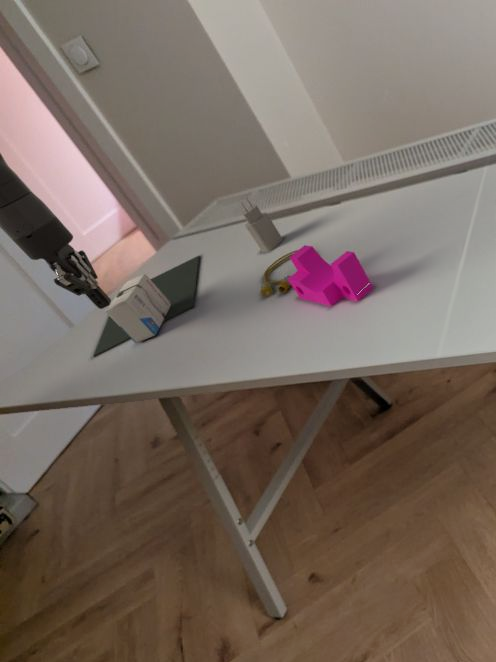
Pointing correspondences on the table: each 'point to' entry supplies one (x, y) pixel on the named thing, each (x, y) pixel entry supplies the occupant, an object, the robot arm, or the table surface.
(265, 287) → the braided water hose
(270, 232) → the power adapter
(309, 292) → the toy block
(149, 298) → the ink box
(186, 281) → the mat
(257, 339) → the table surface
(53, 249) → the robot arm
